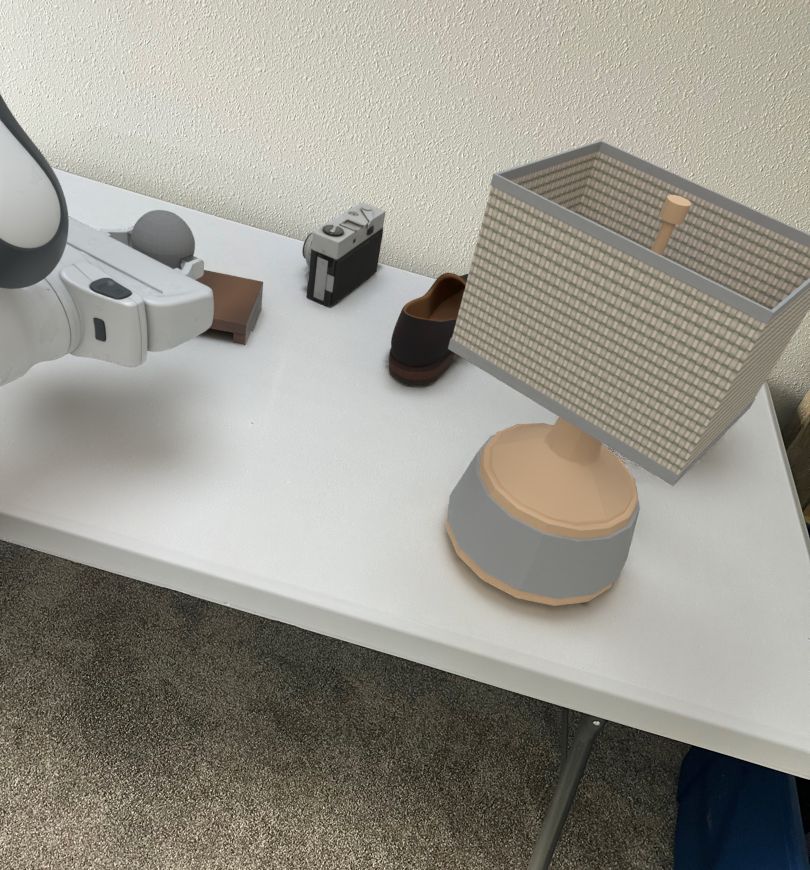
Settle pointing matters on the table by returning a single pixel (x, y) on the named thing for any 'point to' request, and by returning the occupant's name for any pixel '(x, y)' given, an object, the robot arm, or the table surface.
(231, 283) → the shelf
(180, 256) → the light bulb
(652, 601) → the table surface
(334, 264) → the camera
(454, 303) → the loafer
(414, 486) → the table surface
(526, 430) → the desk lamp
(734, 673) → the table surface
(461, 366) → the table surface
